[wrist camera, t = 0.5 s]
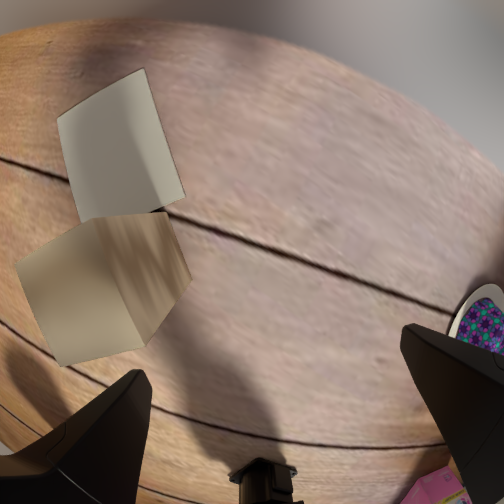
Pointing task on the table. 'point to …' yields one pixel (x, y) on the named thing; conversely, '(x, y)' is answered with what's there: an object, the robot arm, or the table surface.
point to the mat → (118, 152)
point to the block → (104, 285)
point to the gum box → (437, 489)
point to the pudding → (482, 320)
